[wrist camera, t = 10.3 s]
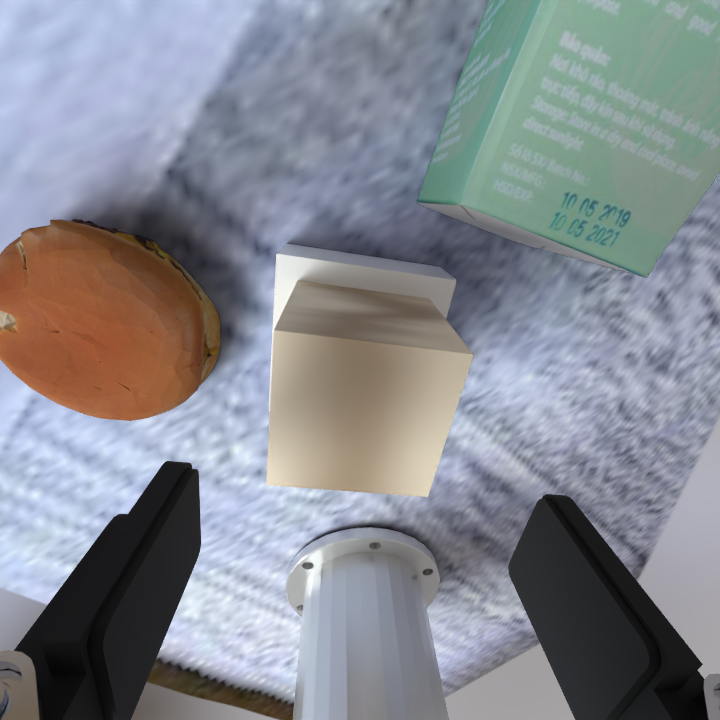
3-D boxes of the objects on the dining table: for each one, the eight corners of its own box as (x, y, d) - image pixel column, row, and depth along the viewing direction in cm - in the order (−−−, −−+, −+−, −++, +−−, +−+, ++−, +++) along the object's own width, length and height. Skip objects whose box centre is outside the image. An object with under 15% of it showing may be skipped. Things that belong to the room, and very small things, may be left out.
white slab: (407, 395, 22) (416, 424, 19) (277, 381, 21) (268, 409, 18) (440, 266, 18) (456, 280, 16) (286, 243, 18) (276, 253, 15)
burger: (236, 390, 21) (211, 439, 17) (78, 392, 21) (12, 443, 17) (207, 215, 17) (163, 223, 13) (7, 214, 17) (-106, 221, 12)
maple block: (429, 298, 16) (473, 354, 11) (402, 407, 19) (427, 497, 13) (297, 280, 15) (273, 329, 10) (288, 395, 18) (266, 484, 13)
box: (732, -110, 13) (1151, -432, 6) (539, 250, 18) (651, 287, 12) (563, -220, 12) (859, -772, 5) (411, 203, 17) (453, 214, 10)
